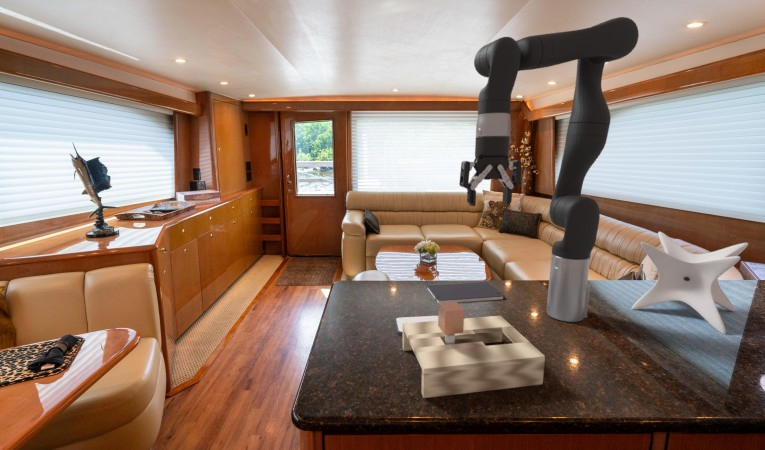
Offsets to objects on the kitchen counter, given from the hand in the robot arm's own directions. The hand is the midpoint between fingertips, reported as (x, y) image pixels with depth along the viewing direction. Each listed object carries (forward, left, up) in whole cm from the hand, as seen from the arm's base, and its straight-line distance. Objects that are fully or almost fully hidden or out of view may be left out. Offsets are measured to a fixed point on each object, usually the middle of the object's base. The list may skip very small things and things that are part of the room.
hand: (489, 205), depth 87 cm
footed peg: (+14, +14, -32) cm, 38 cm away
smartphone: (+14, -4, -33) cm, 36 cm away
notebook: (-5, -24, -33) cm, 41 cm away
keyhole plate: (+10, +14, -32) cm, 36 cm away
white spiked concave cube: (-61, -1, -32) cm, 69 cm away
